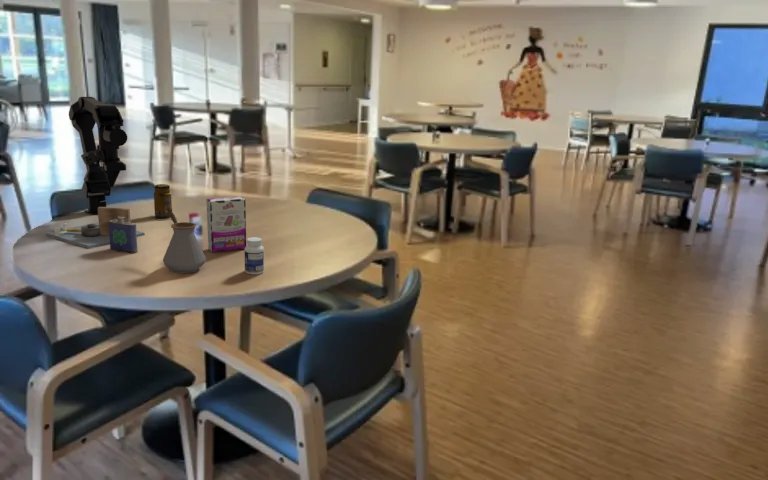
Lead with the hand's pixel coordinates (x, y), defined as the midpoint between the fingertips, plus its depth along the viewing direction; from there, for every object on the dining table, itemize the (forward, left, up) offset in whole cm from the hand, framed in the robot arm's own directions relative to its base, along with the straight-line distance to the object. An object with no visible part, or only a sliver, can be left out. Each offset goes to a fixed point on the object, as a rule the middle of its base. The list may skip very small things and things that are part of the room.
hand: (111, 187), depth 203 cm
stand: (+10, -14, -12) cm, 21 cm away
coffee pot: (+52, -17, -13) cm, 56 cm away
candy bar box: (+52, +2, -13) cm, 54 cm away
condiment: (+7, +16, -13) cm, 22 cm away
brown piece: (+13, -15, -11) cm, 23 cm away
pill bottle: (+73, -9, -13) cm, 75 cm away
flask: (+30, -19, -13) cm, 38 cm away
